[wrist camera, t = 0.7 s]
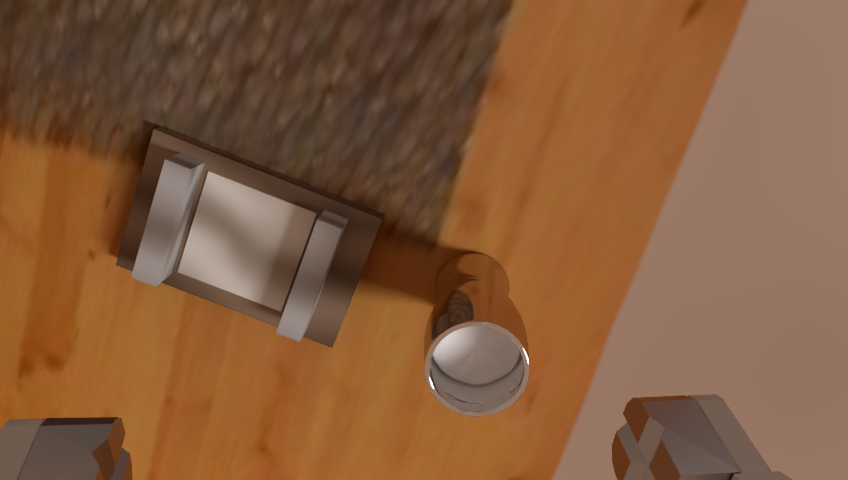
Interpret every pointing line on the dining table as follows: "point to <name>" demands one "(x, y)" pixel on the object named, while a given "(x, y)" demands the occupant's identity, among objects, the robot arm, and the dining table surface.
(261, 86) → the dining table surface
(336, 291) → the rail board
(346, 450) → the dining table surface
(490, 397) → the beer glass
